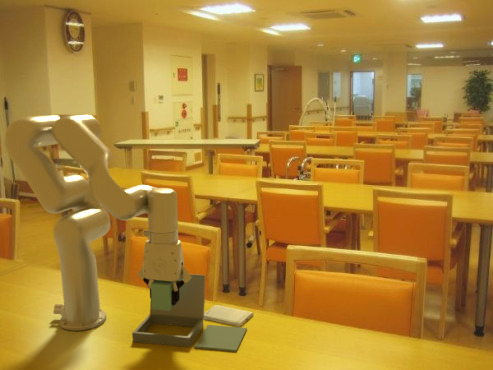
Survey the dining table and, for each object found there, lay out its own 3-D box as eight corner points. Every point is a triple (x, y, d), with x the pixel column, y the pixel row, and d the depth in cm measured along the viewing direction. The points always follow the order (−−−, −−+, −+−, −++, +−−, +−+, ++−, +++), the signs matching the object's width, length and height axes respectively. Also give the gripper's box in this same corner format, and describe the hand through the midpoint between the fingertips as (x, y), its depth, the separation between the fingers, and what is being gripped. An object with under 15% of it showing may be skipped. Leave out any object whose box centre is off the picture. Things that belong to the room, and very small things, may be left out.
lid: (151, 270, 144) (153, 269, 145) (149, 314, 143) (151, 313, 144) (204, 273, 140) (206, 272, 142) (202, 318, 139) (204, 317, 141)
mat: (194, 347, 129) (194, 346, 129) (207, 326, 140) (207, 324, 140) (236, 351, 126) (236, 350, 126) (246, 329, 138) (246, 328, 138)
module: (151, 309, 133) (150, 283, 131) (160, 299, 139) (159, 275, 137) (169, 310, 132) (169, 285, 130) (177, 301, 137) (177, 276, 136)
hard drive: (201, 314, 145) (240, 323, 140) (216, 304, 152) (253, 311, 147) (201, 320, 145) (240, 328, 140) (216, 309, 153) (253, 316, 147)
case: (132, 341, 132) (132, 332, 132) (150, 322, 144) (149, 313, 143) (189, 347, 129) (189, 338, 129) (203, 326, 140) (203, 317, 140)
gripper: (126, 238, 130) (128, 304, 133) (190, 243, 126) (191, 311, 130) (138, 230, 137) (140, 293, 140) (199, 234, 133) (199, 299, 137)
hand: (164, 301), depth 135 cm, fingers closed on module, 5 cm apart
